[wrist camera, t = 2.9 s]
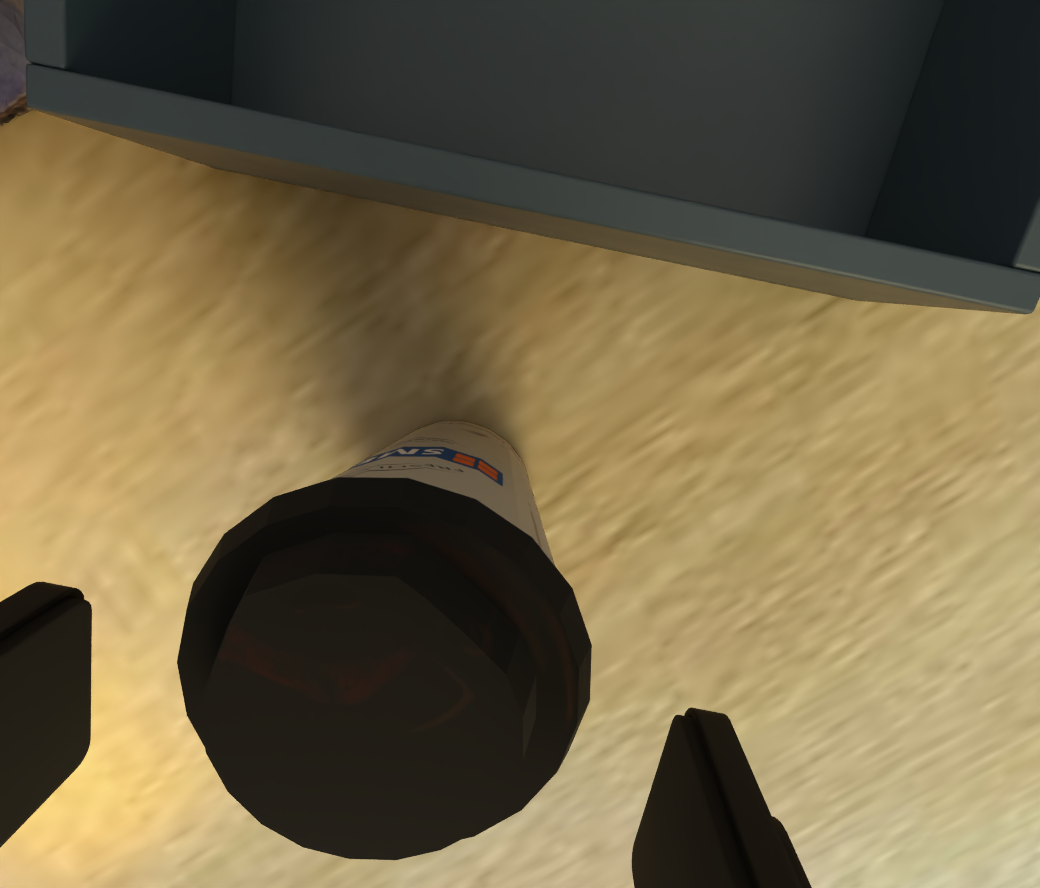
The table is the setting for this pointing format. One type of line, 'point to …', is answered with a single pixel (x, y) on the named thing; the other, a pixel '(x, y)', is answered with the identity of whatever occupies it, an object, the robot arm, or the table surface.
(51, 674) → the robot arm
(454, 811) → the coffee cup
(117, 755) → the table surface
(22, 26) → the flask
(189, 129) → the tub
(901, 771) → the table surface
